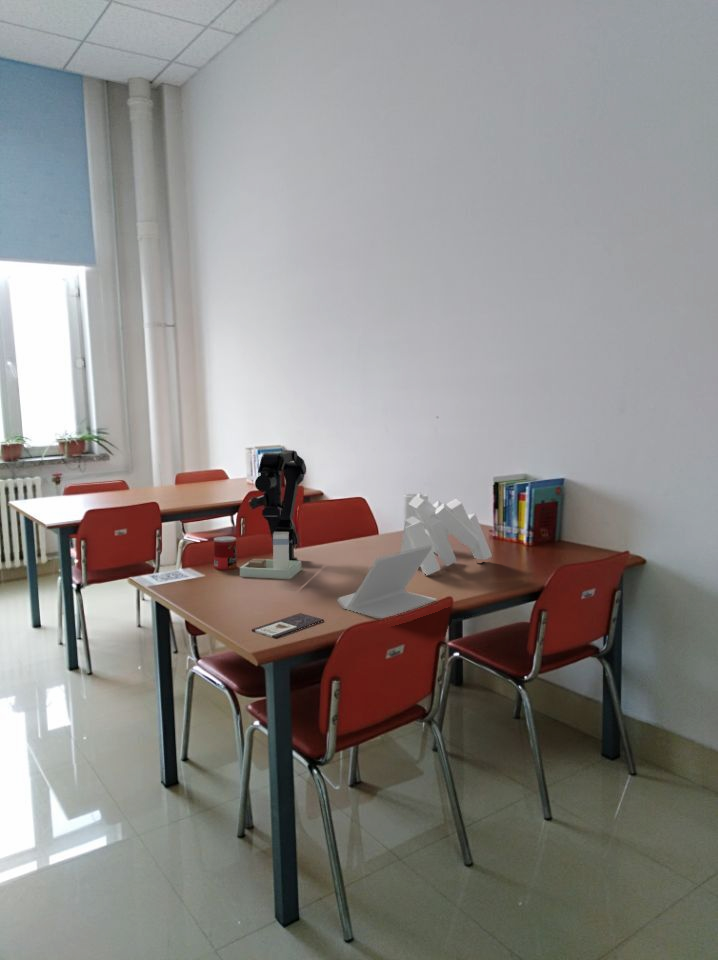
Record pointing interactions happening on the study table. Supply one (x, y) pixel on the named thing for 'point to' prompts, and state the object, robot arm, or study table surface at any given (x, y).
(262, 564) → the walnut block
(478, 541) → the white geometric sculpture
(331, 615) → the study table surface
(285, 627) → the chocolate bar
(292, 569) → the pale green tray
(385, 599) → the tablet stand
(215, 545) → the canned food
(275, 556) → the carton
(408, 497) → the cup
